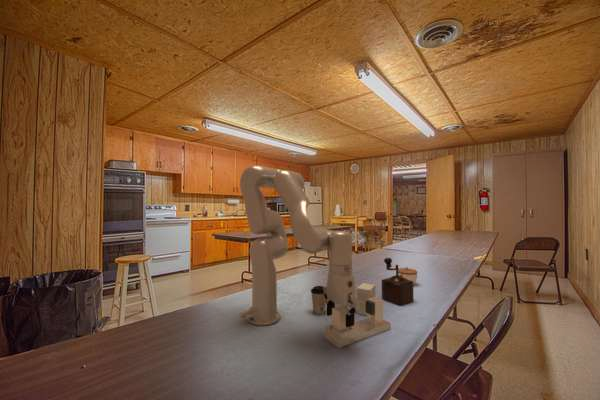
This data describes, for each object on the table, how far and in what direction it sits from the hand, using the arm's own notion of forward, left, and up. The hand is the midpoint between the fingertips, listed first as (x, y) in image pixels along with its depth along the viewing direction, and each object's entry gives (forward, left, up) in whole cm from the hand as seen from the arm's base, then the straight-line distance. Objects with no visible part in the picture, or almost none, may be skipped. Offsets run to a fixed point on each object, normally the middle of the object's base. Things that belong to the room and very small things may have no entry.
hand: (339, 320), depth 87 cm
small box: (+24, +12, -7) cm, 28 cm away
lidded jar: (+71, +27, -7) cm, 76 cm away
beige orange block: (0, 0, -4) cm, 4 cm away
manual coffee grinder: (+46, +16, -7) cm, 49 cm away
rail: (+8, 0, -6) cm, 10 cm away
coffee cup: (+7, +22, -7) cm, 24 cm away
